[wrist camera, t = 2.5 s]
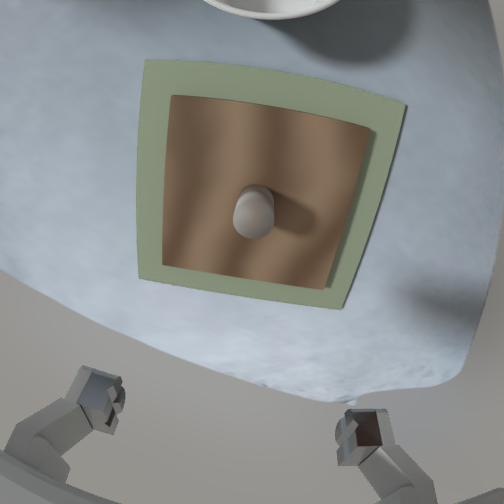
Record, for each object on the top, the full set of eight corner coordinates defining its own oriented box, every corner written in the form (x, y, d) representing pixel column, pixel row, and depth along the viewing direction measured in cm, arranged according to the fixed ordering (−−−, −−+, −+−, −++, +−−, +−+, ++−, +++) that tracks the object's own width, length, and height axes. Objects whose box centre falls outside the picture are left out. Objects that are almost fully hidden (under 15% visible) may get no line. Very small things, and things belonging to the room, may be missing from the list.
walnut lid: (164, 259, 31) (149, 289, 27) (174, 94, 23) (153, 98, 19) (322, 284, 32) (328, 317, 27) (366, 126, 24) (386, 137, 19)
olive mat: (139, 276, 33) (138, 278, 33) (146, 60, 22) (144, 59, 22) (339, 307, 34) (340, 310, 33) (404, 103, 23) (405, 103, 22)
